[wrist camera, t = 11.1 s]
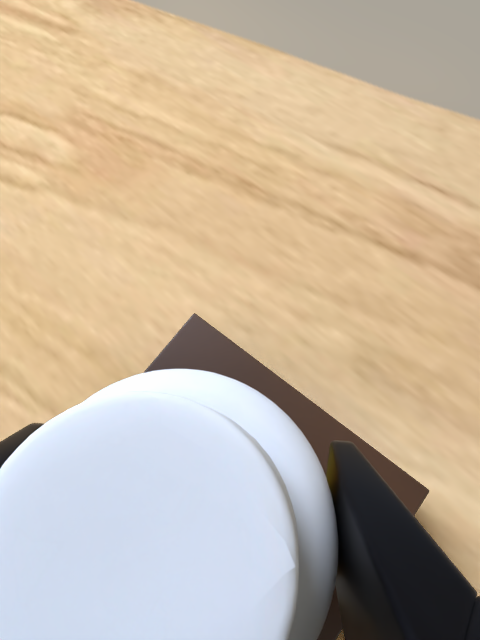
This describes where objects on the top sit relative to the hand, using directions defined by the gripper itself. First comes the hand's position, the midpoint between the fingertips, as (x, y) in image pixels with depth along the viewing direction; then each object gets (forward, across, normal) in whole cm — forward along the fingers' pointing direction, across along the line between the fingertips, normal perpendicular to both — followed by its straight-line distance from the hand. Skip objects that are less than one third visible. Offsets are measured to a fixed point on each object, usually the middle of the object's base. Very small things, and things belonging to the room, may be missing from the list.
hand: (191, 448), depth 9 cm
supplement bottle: (+4, 0, +6) cm, 7 cm away
